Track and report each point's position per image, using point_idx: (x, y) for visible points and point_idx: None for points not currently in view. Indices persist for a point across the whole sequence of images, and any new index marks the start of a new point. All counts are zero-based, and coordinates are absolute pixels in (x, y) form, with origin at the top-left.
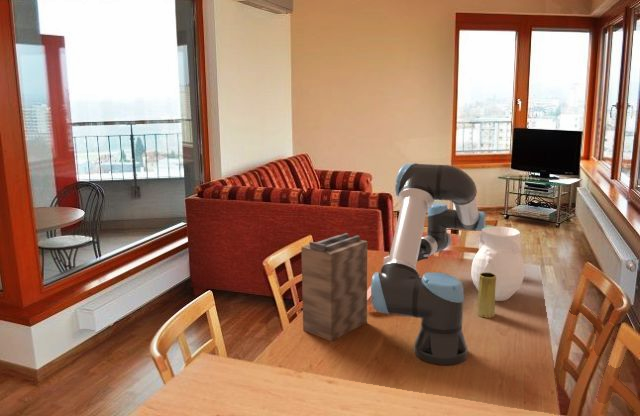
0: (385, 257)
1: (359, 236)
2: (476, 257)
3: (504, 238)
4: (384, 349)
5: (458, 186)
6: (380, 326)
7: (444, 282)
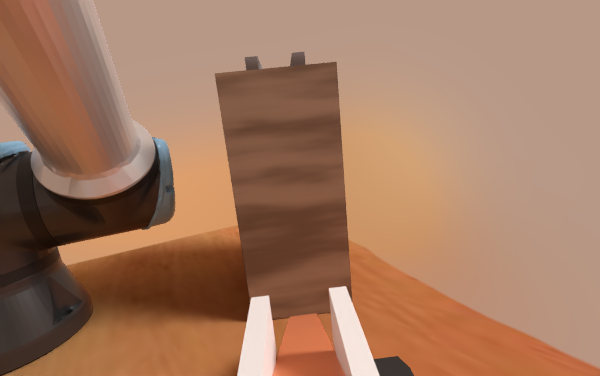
0: (343, 299)
1: (245, 58)
2: None
3: None
4: (160, 284)
5: None
6: (208, 330)
7: None
